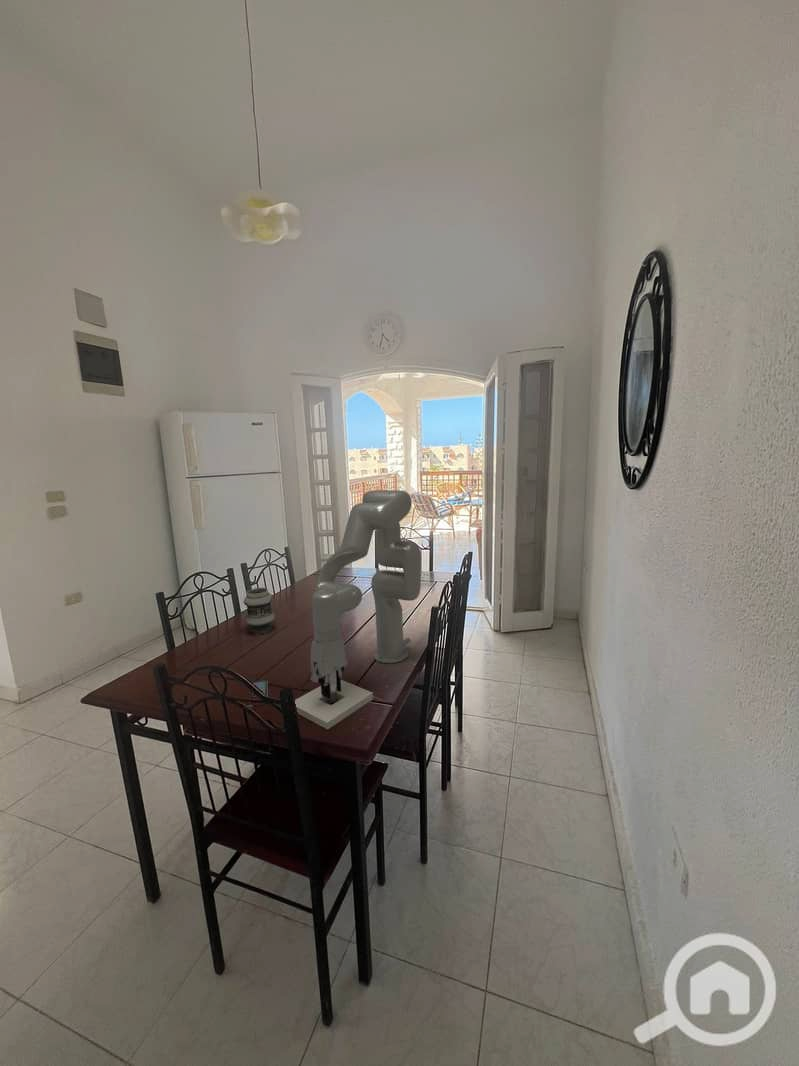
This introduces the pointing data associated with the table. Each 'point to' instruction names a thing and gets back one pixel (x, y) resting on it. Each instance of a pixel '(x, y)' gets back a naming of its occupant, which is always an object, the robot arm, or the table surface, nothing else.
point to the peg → (332, 686)
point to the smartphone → (261, 687)
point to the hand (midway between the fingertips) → (331, 692)
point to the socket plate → (328, 714)
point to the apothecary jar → (259, 610)
